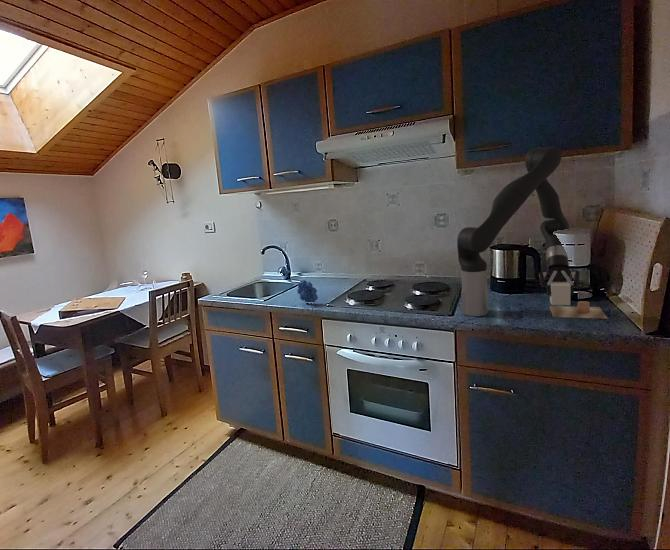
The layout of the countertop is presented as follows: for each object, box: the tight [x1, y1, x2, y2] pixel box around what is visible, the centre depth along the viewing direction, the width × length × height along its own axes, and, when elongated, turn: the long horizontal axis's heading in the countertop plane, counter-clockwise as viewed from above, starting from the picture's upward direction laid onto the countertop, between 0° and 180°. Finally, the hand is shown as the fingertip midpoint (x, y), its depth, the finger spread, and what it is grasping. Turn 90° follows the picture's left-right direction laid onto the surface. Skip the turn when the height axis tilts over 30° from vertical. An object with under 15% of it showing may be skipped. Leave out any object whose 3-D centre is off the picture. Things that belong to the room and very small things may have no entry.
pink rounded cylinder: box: [576, 300, 591, 314], centre depth 136 cm, size 4×4×4 cm
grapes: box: [296, 279, 319, 303], centre depth 185 cm, size 12×7×12 cm, turn 58°
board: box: [549, 305, 609, 319], centre depth 137 cm, size 16×13×1 cm
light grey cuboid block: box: [549, 282, 571, 306], centre depth 148 cm, size 6×6×8 cm
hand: (560, 295), depth 147 cm, fingers closed on light grey cuboid block, 6 cm apart
